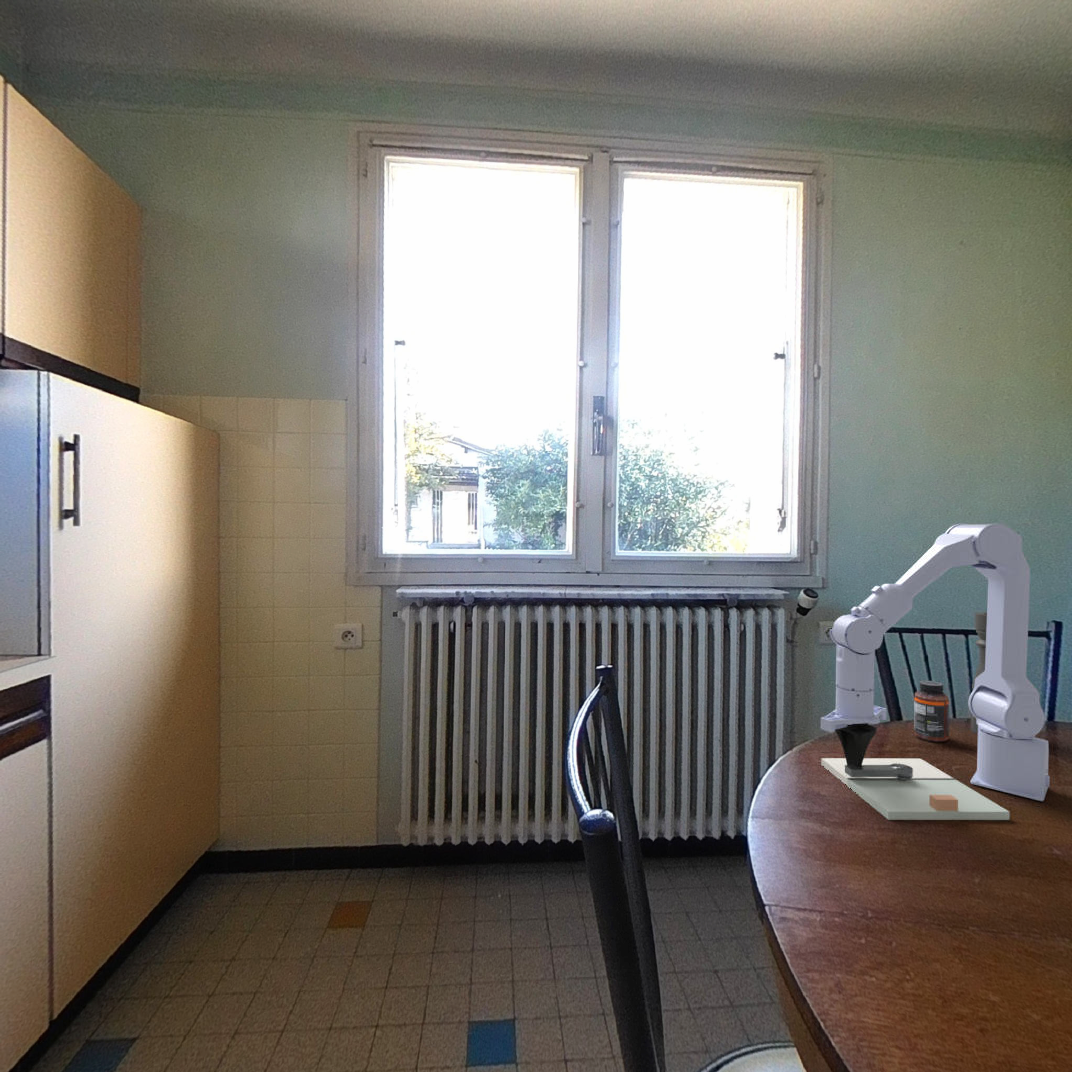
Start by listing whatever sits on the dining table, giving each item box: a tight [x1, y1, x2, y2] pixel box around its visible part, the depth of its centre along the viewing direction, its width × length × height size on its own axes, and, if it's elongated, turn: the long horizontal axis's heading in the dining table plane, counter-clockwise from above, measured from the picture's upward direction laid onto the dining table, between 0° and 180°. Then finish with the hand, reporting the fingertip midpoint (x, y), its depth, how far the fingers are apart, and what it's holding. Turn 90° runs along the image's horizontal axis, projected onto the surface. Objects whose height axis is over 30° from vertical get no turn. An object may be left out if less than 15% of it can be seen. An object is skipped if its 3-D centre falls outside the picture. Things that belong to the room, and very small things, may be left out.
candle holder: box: [970, 611, 987, 735], centre depth 128 cm, size 6×6×25 cm
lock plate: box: [820, 757, 1011, 821], centre depth 100 cm, size 18×20×3 cm
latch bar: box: [845, 763, 913, 778], centre depth 101 cm, size 11×3×1 cm, turn 91°
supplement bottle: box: [913, 680, 950, 743], centre depth 125 cm, size 6×6×11 cm
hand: (853, 767), depth 103 cm, fingers closed, pressing on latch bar
